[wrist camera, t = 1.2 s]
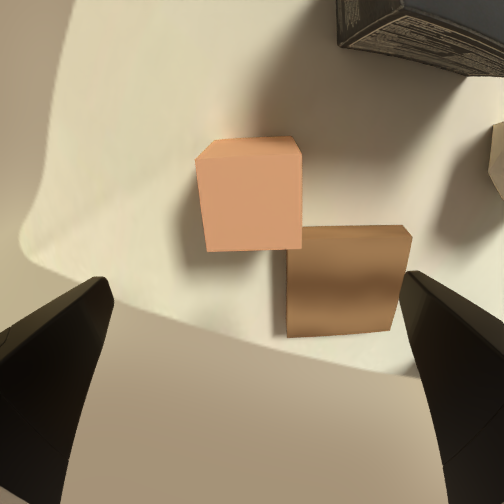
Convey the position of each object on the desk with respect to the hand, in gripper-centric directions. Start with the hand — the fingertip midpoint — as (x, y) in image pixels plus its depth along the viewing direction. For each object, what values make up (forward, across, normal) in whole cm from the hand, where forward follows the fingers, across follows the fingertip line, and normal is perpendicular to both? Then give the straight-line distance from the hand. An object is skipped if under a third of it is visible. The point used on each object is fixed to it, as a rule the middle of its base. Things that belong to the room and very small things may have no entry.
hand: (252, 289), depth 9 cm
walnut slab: (+13, -6, +9) cm, 17 cm away
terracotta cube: (+13, 0, 0) cm, 13 cm away
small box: (+13, -10, -11) cm, 20 cm away
